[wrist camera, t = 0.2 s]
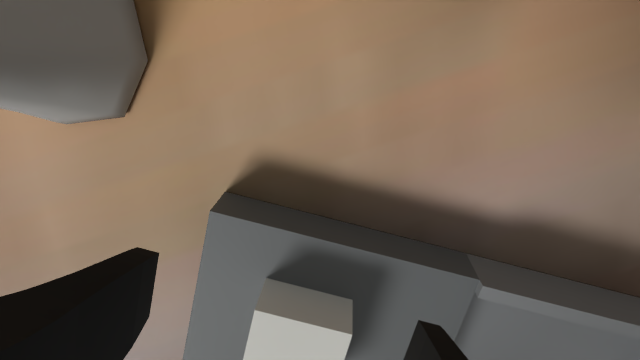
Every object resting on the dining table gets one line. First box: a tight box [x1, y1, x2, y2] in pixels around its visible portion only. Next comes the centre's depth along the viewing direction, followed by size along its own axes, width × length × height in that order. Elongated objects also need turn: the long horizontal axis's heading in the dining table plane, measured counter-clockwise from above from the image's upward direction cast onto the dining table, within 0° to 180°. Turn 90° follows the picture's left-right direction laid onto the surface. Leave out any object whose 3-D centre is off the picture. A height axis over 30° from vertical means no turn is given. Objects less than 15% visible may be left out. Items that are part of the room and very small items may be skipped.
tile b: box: [243, 278, 353, 360], centre depth 20 cm, size 4×4×2 cm
